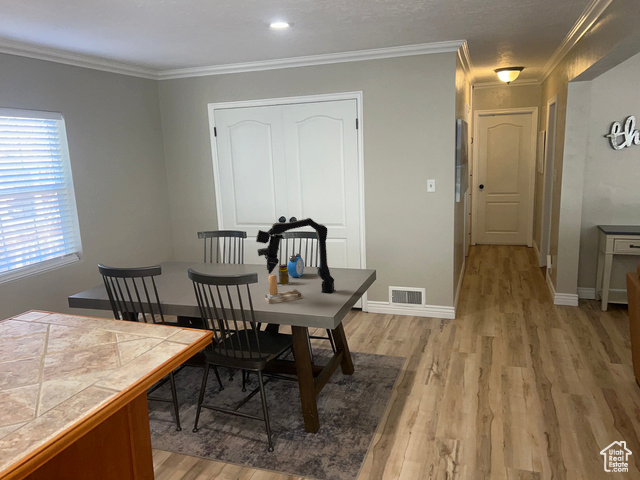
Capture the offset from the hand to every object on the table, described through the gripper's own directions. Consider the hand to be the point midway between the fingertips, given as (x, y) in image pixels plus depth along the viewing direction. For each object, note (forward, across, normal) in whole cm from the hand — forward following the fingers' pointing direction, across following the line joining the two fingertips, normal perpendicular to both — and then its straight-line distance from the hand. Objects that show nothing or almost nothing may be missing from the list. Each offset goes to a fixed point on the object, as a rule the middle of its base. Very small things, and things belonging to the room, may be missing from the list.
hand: (268, 271), depth 264 cm
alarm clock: (+9, -42, +25) cm, 50 cm away
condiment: (+12, -28, +14) cm, 34 cm away
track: (+13, +4, +11) cm, 18 cm away
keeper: (+13, +5, +5) cm, 15 cm away
